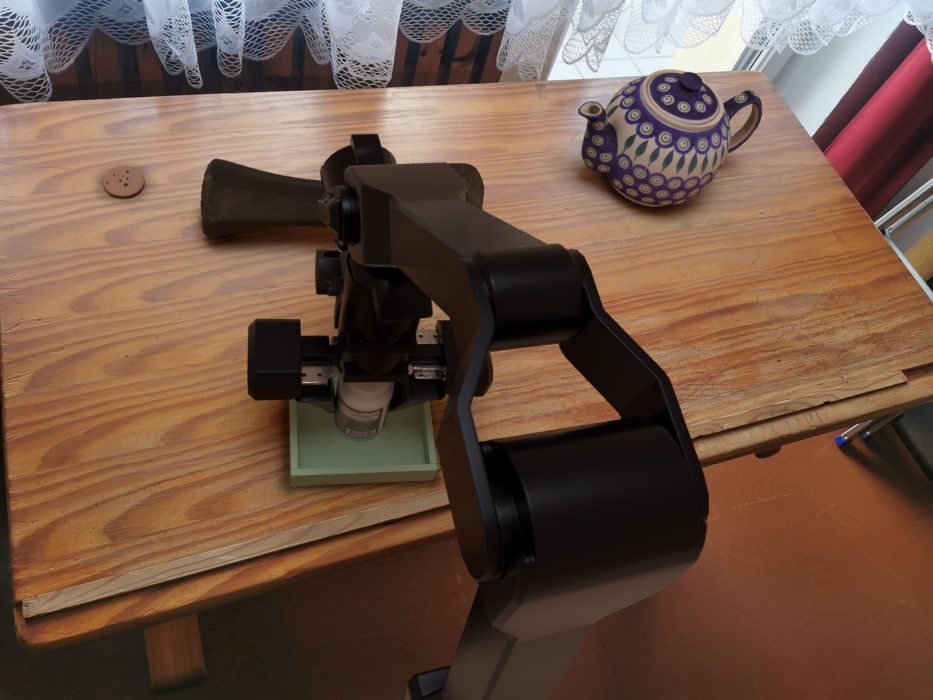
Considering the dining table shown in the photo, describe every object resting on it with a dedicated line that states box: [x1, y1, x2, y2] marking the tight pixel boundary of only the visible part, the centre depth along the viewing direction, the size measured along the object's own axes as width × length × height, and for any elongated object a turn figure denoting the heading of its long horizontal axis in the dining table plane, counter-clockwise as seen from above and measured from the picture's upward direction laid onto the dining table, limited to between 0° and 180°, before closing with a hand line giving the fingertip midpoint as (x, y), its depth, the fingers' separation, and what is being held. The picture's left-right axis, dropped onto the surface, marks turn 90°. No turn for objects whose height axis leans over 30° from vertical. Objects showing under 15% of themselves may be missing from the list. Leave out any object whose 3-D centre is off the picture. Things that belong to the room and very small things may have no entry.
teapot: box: [577, 68, 763, 208], centre depth 89 cm, size 25×15×15 cm, turn 105°
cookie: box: [102, 165, 145, 198], centre depth 78 cm, size 4×4×1 cm
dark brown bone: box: [199, 158, 485, 237], centre depth 78 cm, size 11×10×28 cm
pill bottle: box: [333, 377, 394, 441], centre depth 66 cm, size 5×5×8 cm
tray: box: [288, 377, 439, 487], centre depth 69 cm, size 12×12×2 cm
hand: (361, 407), depth 68 cm, fingers closed on pill bottle, 5 cm apart
